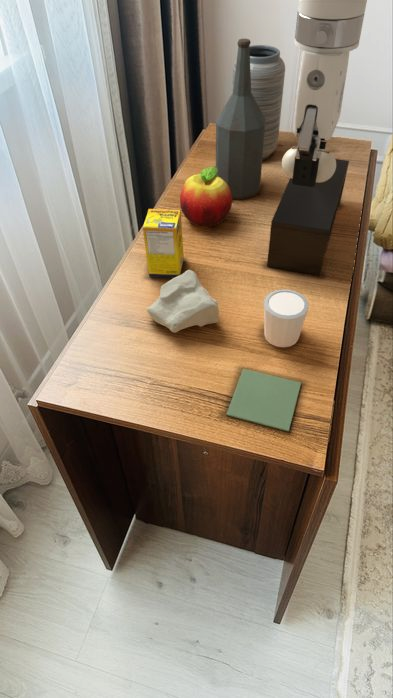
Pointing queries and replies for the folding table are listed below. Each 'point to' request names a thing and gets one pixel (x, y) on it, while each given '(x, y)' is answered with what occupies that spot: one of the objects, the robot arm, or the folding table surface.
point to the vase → (267, 90)
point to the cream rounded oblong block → (324, 168)
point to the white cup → (284, 317)
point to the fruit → (206, 198)
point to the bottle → (240, 133)
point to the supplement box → (163, 242)
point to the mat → (264, 399)
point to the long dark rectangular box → (305, 224)
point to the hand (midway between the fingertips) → (307, 175)
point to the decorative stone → (184, 304)
